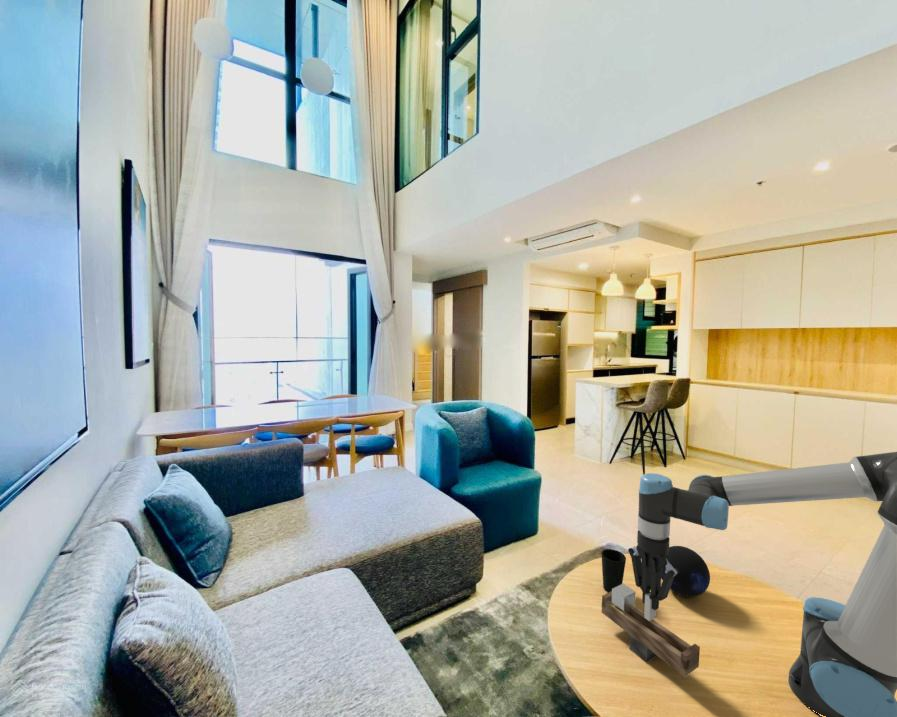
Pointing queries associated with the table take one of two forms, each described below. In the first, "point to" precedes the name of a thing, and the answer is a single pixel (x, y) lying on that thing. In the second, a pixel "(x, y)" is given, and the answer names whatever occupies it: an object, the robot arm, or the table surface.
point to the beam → (652, 638)
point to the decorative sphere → (688, 572)
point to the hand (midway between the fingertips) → (649, 617)
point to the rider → (623, 597)
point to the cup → (612, 568)
